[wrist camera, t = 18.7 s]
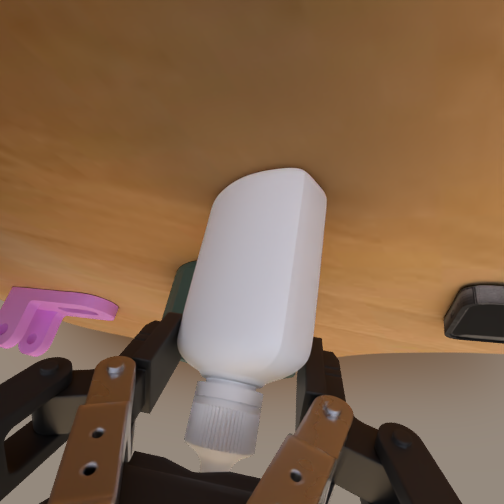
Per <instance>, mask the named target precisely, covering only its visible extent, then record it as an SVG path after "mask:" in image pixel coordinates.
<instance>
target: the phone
mask: <svg viewBox="0 0 504 504" xmlns="http://www.w3.org/2000/svg"><path fill="white" fill-rule="evenodd" d="M444 331H445V336H446V337H449V338H452V339H459V340H470V341H481V342H493V343H504V286H492V285H478V286H471V287H467V288H464V289H462V290H461V291H460V292H459V293H458V295H457V297H456V298H455V300H454V302H453V304H452V306H451V307H450V309H449V311H448V313H447V314H446V316H445V318H444Z"/></svg>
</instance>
